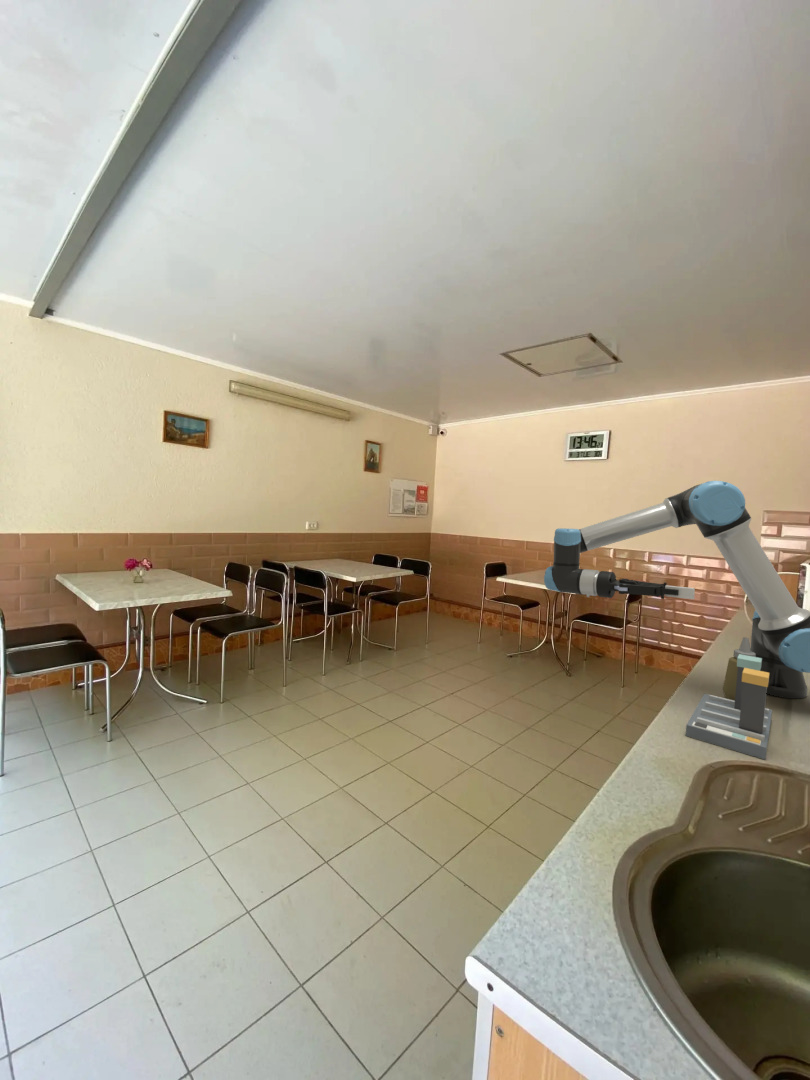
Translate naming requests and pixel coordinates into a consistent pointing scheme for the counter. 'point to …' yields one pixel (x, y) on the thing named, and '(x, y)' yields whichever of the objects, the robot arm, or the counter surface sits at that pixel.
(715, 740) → the console
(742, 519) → the robot arm
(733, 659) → the squeeze bottle
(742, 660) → the mint capped grey block
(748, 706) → the orange capped grey block
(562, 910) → the counter surface
